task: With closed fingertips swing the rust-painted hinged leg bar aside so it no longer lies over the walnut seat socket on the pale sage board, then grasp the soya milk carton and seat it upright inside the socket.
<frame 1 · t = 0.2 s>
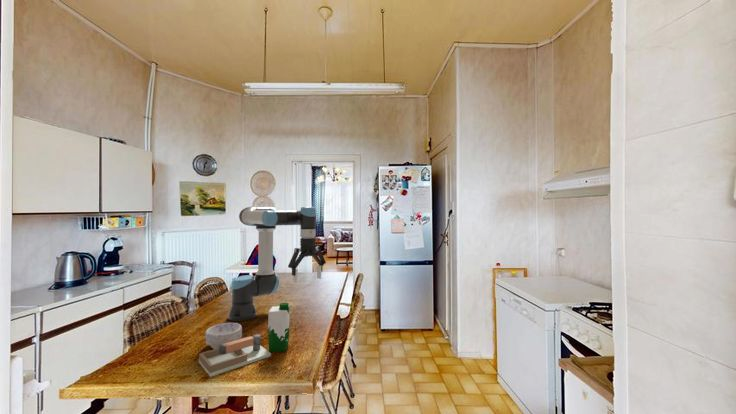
hand: (307, 280, 152), 28 cm above the table, fingers open, 13 cm apart
soya milk: (278, 348, 138), on the table
leg bar: (240, 343, 129), point 6 cm above the table, hinge at 0.0°
paper bowls: (223, 345, 141), on the table
seat board: (235, 359, 128), on the table
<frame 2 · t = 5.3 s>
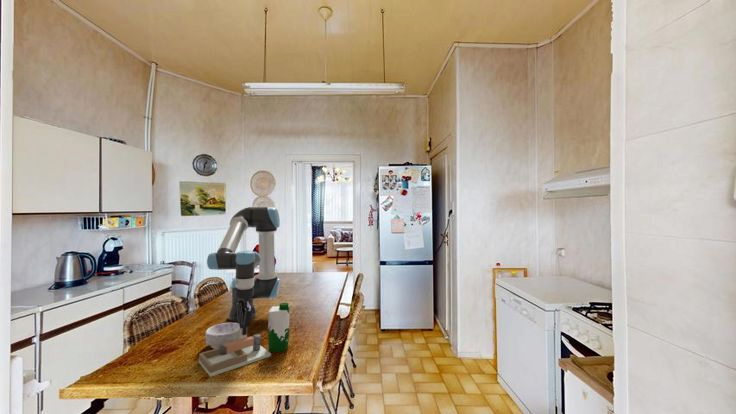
hand: (243, 341, 132), 6 cm above the table, fingers closed
leg bar: (241, 344, 129), point 6 cm above the table, hinge at 2.8°, touching gripper
everything else where it was.
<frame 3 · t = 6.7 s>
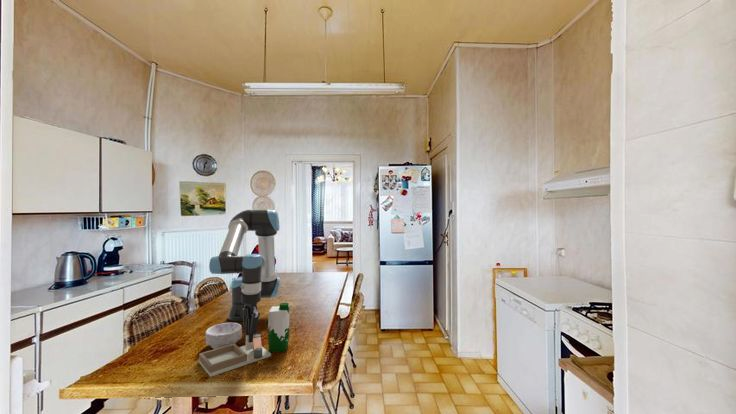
hand: (249, 349, 126), 5 cm above the table, fingers closed
leg bar: (257, 345, 128), point 6 cm above the table, hinge at 68.6°, touching gripper
everything else where it was.
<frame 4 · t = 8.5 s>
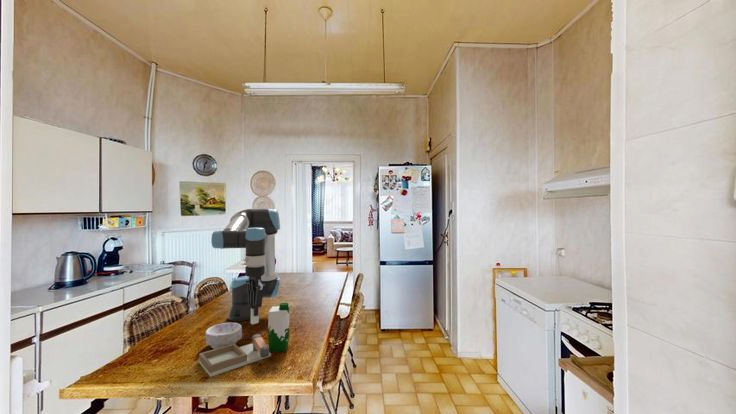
hand: (254, 322, 125), 16 cm above the table, fingers closed
leg bar: (260, 345, 128), point 6 cm above the table, hinge at 78.8°
everything else where it was.
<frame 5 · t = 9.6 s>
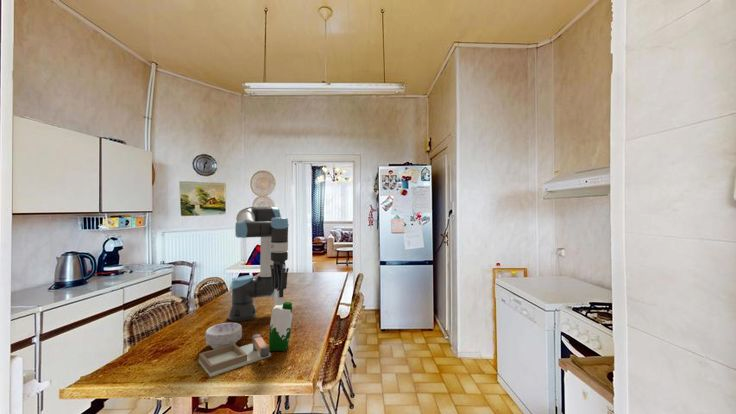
hand: (278, 303, 138), 20 cm above the table, fingers open, 2 cm apart
soya milk: (278, 347, 138), on the table, touching gripper
everything else where it was.
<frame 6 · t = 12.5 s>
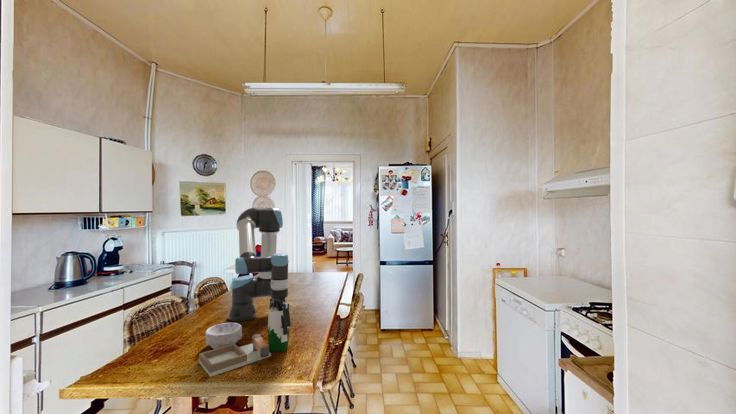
hand: (278, 338, 138), 5 cm above the table, fingers closed on soya milk, 9 cm apart
soya milk: (278, 348, 138), on the table, touching gripper
everything else where it was.
when the fingers open (7 cm above the table, at t = 20.1 s): soya milk drops 1 cm, resting on seat board.
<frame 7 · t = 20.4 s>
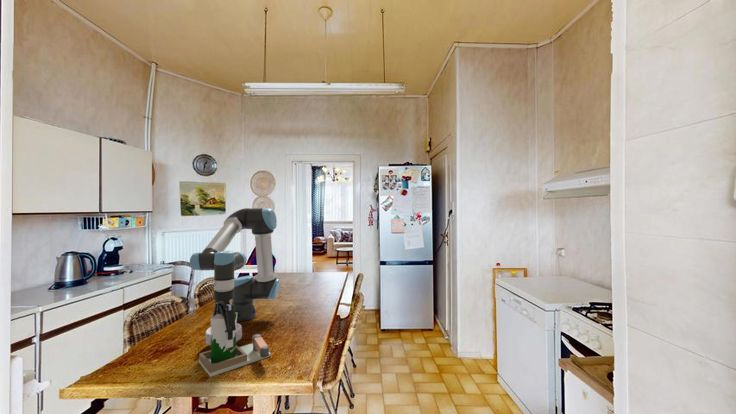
hand: (223, 342, 124), 9 cm above the table, fingers open, 12 cm apart
soya milk: (223, 359, 125), point 1 cm above the table, touching seat board
everything else where it was.
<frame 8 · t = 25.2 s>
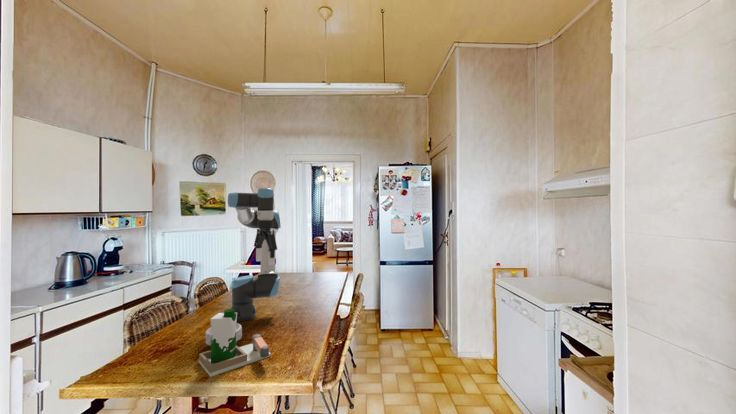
hand: (264, 262, 149), 37 cm above the table, fingers open, 13 cm apart
nothing on the table moved.
at the end: leg bar at +79° (first picture: +0°); soya milk inside the target area on the seat board (0.7 cm from its centre), point 1.0 cm above the seat board's base; soya milk tilted 0° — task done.
